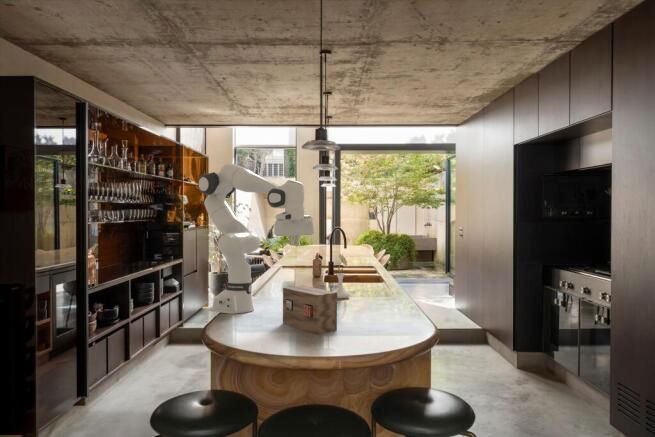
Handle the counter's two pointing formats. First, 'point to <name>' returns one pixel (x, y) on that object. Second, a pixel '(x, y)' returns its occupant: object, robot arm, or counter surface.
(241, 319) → the counter surface
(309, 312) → the plunger right
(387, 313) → the counter surface
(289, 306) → the plunger left
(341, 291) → the flower in vase
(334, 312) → the button panel
